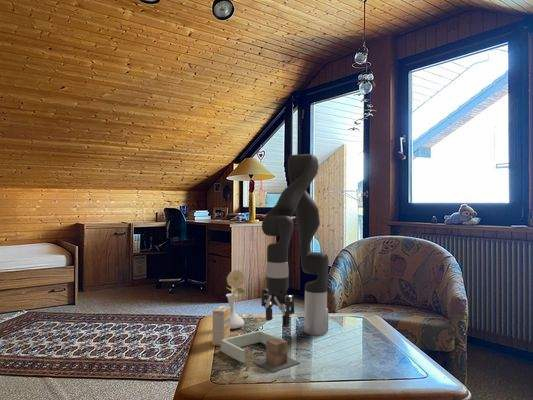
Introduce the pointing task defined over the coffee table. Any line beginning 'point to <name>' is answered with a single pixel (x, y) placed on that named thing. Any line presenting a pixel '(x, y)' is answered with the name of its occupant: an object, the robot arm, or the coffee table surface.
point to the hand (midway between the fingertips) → (277, 323)
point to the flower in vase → (235, 280)
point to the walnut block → (276, 351)
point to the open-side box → (243, 343)
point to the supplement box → (221, 324)
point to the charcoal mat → (275, 368)
